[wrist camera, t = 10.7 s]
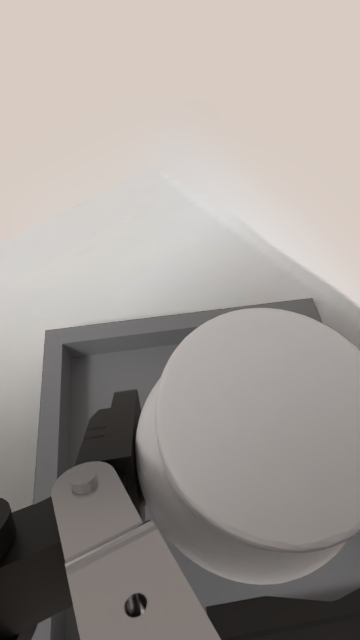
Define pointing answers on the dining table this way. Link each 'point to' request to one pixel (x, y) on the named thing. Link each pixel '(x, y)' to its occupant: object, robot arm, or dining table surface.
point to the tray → (142, 374)
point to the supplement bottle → (255, 445)
